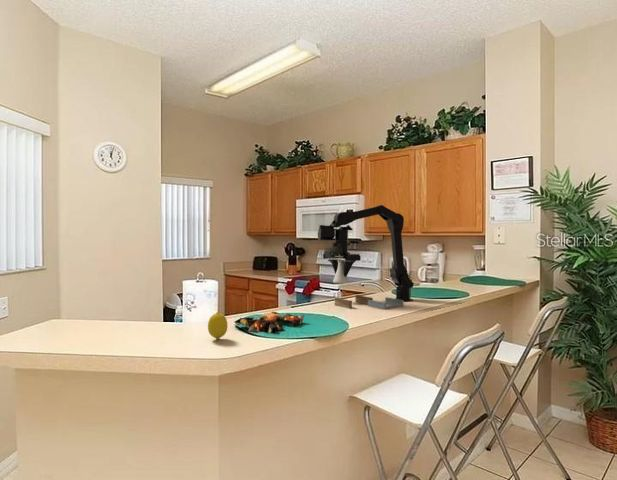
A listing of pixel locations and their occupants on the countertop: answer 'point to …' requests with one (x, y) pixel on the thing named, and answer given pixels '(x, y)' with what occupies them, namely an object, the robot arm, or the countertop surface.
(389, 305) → the cradle
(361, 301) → the channel
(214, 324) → the lemon
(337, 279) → the flask
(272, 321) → the food
